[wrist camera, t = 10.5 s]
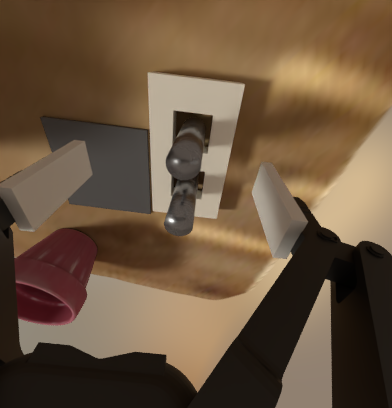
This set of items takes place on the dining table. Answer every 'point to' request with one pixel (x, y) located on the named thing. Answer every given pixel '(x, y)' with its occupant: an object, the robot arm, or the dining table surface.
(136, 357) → the robot arm
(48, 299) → the plant pot
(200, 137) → the peg
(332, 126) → the dining table surface
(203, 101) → the hole board
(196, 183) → the seated peg
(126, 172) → the mat
